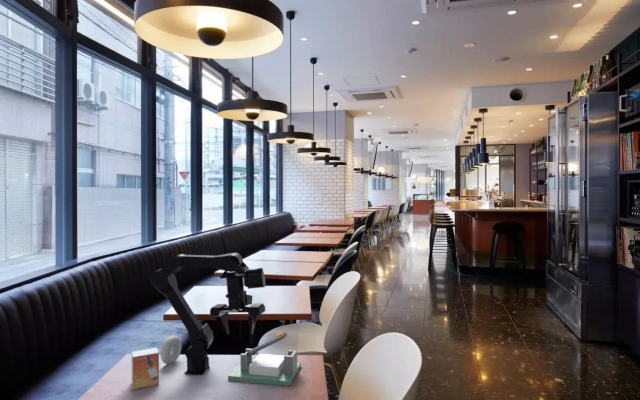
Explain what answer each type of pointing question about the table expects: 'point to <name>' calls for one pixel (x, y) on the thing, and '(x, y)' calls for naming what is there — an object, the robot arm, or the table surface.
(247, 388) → the table surface
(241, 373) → the board
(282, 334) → the strap
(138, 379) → the small box
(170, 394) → the table surface
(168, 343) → the donut
